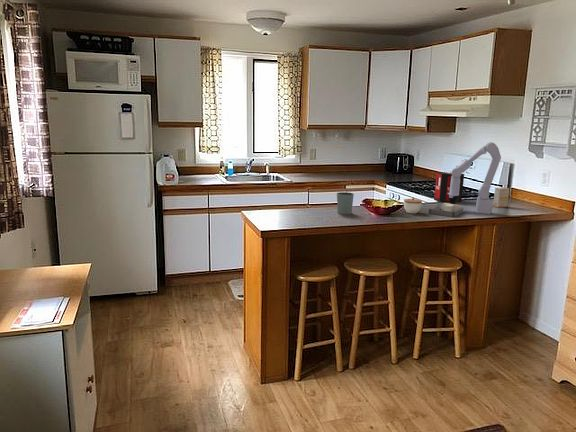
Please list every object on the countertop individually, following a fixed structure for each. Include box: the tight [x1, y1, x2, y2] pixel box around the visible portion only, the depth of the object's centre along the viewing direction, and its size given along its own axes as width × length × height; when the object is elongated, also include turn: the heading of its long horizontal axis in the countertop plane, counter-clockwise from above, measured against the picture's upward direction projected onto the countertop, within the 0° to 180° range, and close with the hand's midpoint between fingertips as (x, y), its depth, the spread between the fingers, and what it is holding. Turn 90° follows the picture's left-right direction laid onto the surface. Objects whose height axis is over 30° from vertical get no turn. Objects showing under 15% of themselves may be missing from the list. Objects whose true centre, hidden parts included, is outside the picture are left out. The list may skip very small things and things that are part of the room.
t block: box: [442, 202, 461, 212], centre depth 305 cm, size 10×10×4 cm
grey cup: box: [336, 191, 354, 215], centre depth 288 cm, size 10×10×12 cm
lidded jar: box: [403, 197, 423, 214], centre depth 297 cm, size 11×11×9 cm
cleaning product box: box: [433, 171, 465, 203], centre depth 342 cm, size 16×9×20 cm, turn 98°
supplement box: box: [492, 186, 510, 208], centre depth 326 cm, size 8×5×13 cm, turn 108°
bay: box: [428, 204, 464, 218], centre depth 299 cm, size 15×20×3 cm
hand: (452, 207), depth 311 cm, fingers closed
